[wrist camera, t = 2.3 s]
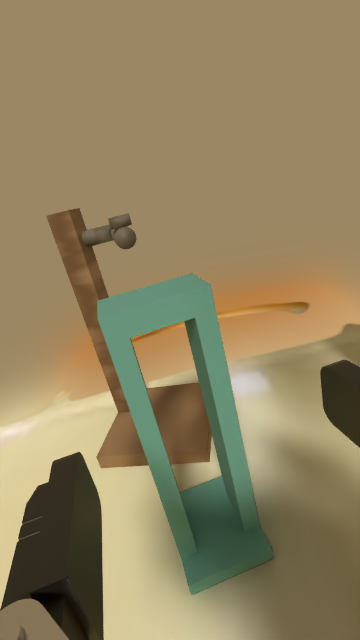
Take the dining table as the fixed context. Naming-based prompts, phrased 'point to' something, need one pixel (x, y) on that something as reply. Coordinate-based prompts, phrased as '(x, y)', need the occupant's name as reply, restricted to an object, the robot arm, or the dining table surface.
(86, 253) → the hook stand
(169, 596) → the dining table surface
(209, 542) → the teal loop
